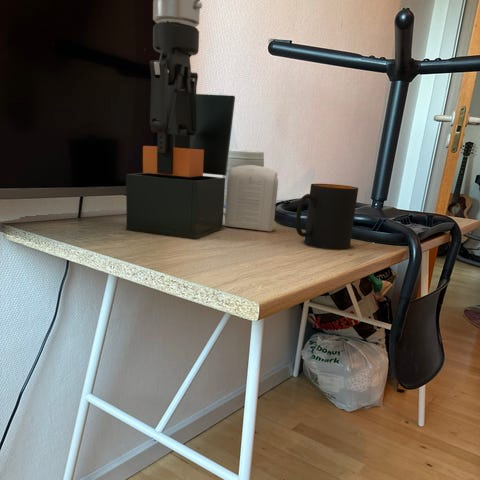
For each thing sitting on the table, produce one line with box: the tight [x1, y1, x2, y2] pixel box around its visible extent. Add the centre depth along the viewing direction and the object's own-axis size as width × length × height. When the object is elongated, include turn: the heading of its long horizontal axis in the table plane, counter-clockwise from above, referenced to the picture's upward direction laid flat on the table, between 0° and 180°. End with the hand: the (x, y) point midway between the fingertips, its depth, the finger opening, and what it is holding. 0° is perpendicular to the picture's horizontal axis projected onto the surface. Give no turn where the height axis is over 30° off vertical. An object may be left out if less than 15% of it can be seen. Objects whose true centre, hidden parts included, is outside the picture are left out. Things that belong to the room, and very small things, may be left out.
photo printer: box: [224, 165, 279, 233], centre depth 97 cm, size 10×4×12 cm, turn 75°
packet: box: [142, 145, 204, 177], centre depth 87 cm, size 6×9×4 cm, turn 71°
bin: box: [125, 172, 225, 240], centre depth 91 cm, size 14×14×10 cm
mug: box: [295, 183, 359, 250], centre depth 86 cm, size 8×12×10 cm
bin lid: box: [168, 93, 236, 176], centre depth 94 cm, size 14×14×1 cm
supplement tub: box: [222, 149, 265, 215], centre depth 115 cm, size 10×10×15 cm
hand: (173, 172), depth 87 cm, fingers closed on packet, 6 cm apart
